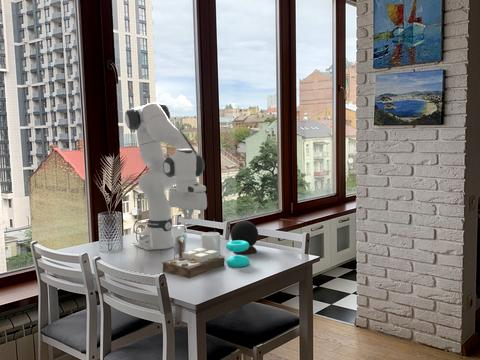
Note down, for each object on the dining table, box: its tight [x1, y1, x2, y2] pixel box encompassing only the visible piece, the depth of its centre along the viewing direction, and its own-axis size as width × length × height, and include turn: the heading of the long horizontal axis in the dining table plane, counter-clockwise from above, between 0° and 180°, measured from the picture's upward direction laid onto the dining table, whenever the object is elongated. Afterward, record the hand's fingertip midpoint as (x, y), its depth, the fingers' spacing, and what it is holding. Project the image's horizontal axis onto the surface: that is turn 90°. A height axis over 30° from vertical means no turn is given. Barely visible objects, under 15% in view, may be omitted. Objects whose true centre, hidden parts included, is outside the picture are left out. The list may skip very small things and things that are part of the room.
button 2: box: [194, 253, 209, 263], centre depth 212 cm, size 4×4×4 cm
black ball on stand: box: [230, 220, 259, 256], centre depth 240 cm, size 13×13×15 cm
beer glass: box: [172, 224, 188, 259], centre depth 231 cm, size 7×7×15 cm
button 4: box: [204, 250, 218, 259], centre depth 217 cm, size 4×4×4 cm
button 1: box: [182, 250, 197, 260], centre depth 217 cm, size 4×4×4 cm
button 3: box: [191, 247, 206, 254], centre depth 221 cm, size 4×4×4 cm
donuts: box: [225, 240, 250, 268], centre depth 218 cm, size 10×10×10 cm
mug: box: [201, 231, 221, 256], centre depth 233 cm, size 12×8×10 cm
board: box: [161, 255, 226, 279], centre depth 214 cm, size 16×21×4 cm
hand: (187, 218), depth 215 cm, fingers closed
